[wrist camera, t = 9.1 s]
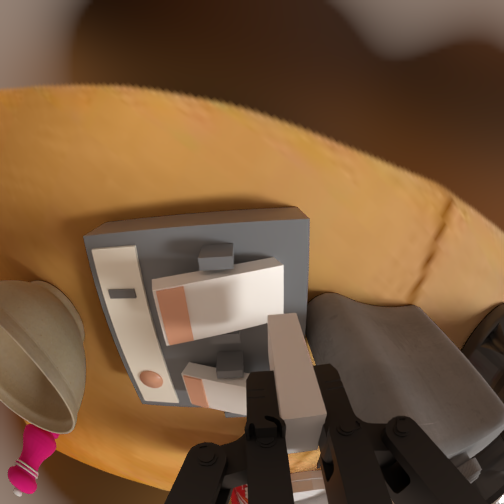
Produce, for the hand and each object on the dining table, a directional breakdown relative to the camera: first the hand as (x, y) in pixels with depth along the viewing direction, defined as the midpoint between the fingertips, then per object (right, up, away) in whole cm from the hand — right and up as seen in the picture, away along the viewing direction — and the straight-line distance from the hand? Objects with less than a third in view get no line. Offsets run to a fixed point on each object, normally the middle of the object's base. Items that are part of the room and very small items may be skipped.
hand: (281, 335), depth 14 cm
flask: (+10, -3, +12) cm, 16 cm away
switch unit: (-6, -1, +10) cm, 12 cm away
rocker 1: (-4, +1, +3) cm, 5 cm away
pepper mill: (-42, -29, +19) cm, 55 cm away
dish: (+8, -48, +29) cm, 56 cm away
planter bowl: (-24, -3, +10) cm, 26 cm away
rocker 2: (-3, -7, +6) cm, 10 cm away
